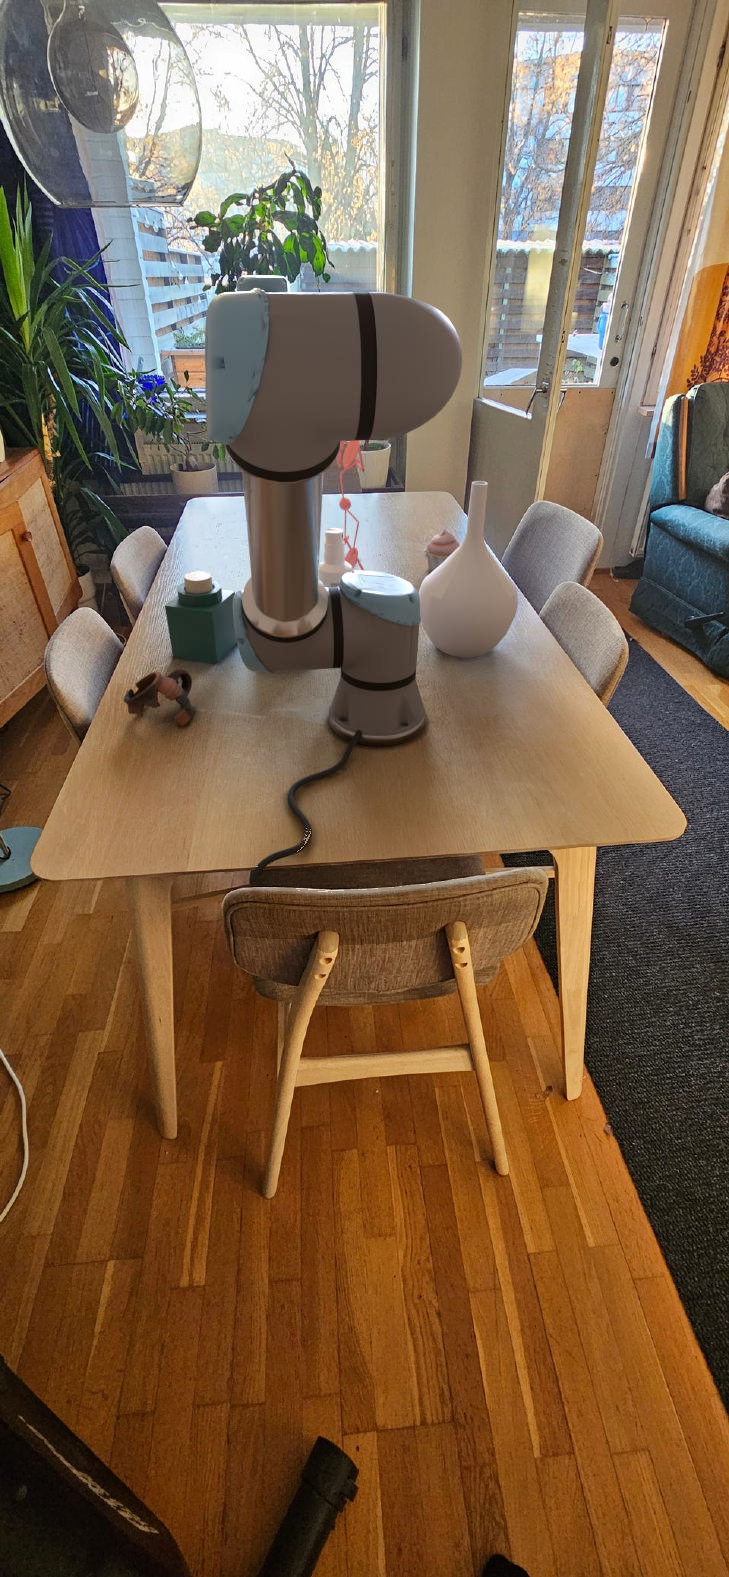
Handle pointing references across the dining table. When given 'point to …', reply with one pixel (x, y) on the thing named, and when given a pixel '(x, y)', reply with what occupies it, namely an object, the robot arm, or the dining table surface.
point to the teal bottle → (201, 624)
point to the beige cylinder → (198, 582)
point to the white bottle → (333, 559)
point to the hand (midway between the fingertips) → (278, 554)
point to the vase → (468, 592)
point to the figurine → (344, 503)
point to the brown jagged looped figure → (167, 688)
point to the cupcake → (440, 549)
